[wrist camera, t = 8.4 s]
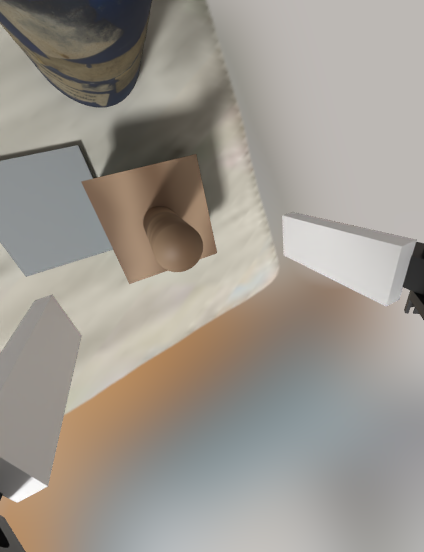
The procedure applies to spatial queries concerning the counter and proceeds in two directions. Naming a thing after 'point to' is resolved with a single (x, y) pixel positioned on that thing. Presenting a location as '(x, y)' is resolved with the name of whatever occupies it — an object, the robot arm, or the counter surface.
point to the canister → (82, 44)
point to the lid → (154, 217)
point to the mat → (48, 211)
